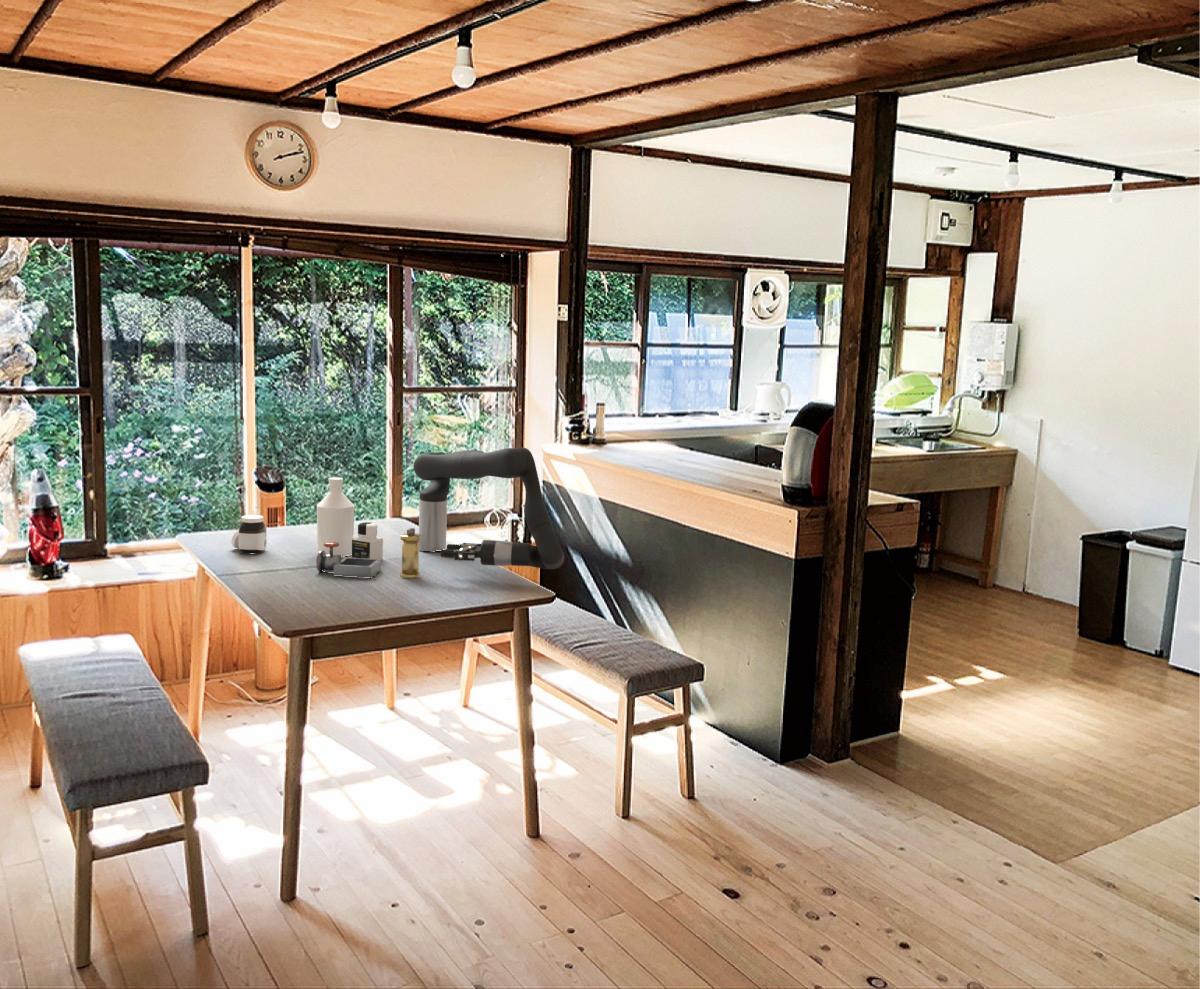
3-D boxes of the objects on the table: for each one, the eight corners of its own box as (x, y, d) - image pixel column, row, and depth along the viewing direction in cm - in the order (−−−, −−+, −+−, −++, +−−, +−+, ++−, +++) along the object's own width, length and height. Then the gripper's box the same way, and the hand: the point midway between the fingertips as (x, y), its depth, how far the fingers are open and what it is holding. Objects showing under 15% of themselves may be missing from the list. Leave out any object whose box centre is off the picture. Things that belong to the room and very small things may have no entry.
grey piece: (325, 567, 328) (325, 538, 327) (381, 570, 328) (381, 542, 326) (313, 575, 317) (313, 546, 316) (371, 578, 316) (371, 549, 315)
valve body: (400, 574, 324) (401, 526, 322) (420, 574, 325) (421, 527, 322) (399, 578, 318) (400, 530, 316) (419, 578, 319) (420, 530, 317)
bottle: (358, 551, 353) (359, 477, 349) (346, 558, 341) (347, 482, 337) (324, 549, 354) (324, 475, 350) (311, 556, 342) (311, 479, 338)
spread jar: (259, 555, 340) (259, 520, 338) (224, 554, 340) (223, 518, 338) (271, 548, 352) (271, 513, 350) (237, 546, 352) (237, 512, 350)
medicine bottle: (351, 560, 339) (351, 523, 337) (365, 556, 346) (365, 520, 344) (369, 563, 336) (369, 526, 334) (383, 559, 343) (383, 522, 341)
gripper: (501, 536, 325) (448, 533, 326) (494, 545, 311) (439, 542, 312) (500, 560, 326) (448, 557, 327) (493, 570, 312) (438, 567, 313)
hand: (444, 550), depth 319 cm, fingers open, 8 cm apart
